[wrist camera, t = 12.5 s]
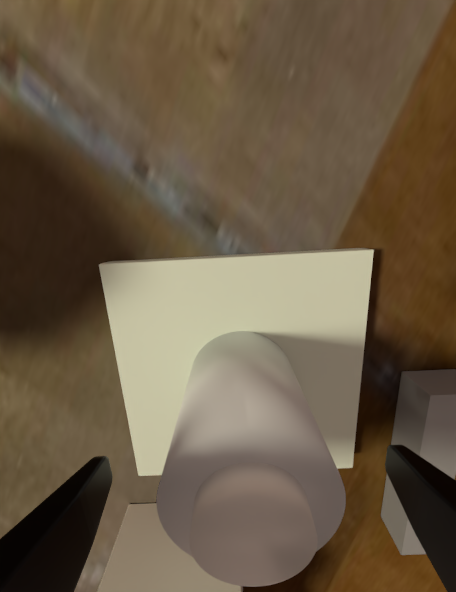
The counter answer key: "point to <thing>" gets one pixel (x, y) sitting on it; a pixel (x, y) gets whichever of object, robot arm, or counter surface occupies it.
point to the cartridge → (248, 467)
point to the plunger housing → (153, 559)
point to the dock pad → (239, 317)
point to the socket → (421, 440)
